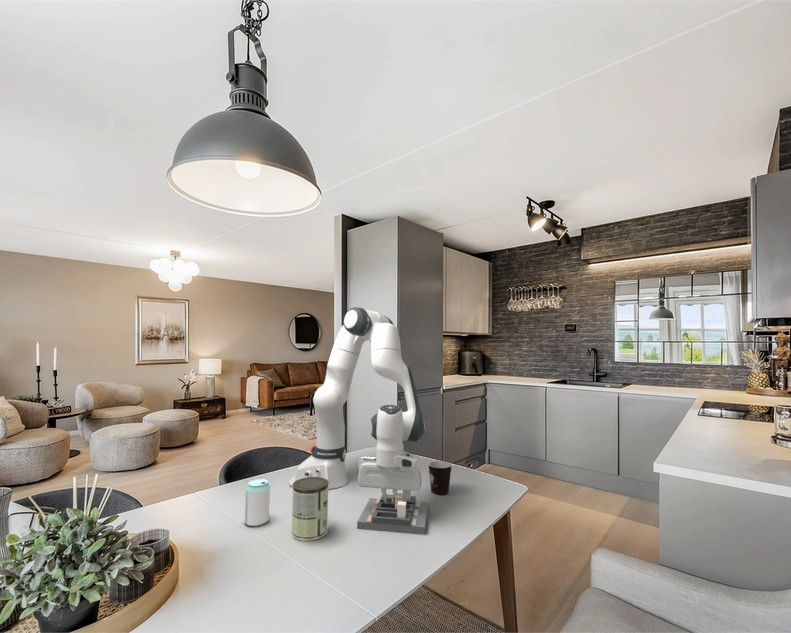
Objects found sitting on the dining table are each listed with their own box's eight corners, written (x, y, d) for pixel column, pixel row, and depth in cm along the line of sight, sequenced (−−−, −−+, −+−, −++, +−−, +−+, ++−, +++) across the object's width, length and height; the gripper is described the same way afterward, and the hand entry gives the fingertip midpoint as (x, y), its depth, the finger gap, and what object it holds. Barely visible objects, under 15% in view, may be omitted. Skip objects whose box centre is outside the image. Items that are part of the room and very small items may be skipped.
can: (262, 515, 124) (263, 476, 125) (272, 522, 119) (274, 482, 120) (240, 521, 119) (242, 481, 120) (250, 530, 114) (252, 488, 115)
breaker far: (402, 504, 128) (403, 488, 129) (403, 501, 131) (403, 485, 131) (410, 504, 128) (410, 488, 128) (410, 501, 130) (411, 486, 131)
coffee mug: (452, 496, 141) (452, 468, 142) (429, 496, 141) (429, 467, 142) (449, 484, 153) (449, 458, 153) (427, 484, 153) (427, 458, 153)
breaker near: (397, 521, 115) (397, 504, 116) (398, 518, 118) (398, 501, 118) (405, 522, 115) (405, 505, 115) (406, 518, 117) (406, 501, 118)
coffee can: (292, 525, 117) (294, 477, 118) (327, 523, 119) (328, 475, 120) (289, 542, 107) (291, 490, 108) (327, 540, 109) (328, 488, 110)
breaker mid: (394, 512, 122) (394, 495, 122) (395, 508, 125) (396, 492, 125) (402, 512, 122) (402, 496, 122) (403, 509, 124) (403, 493, 124)
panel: (357, 528, 116) (357, 516, 116) (370, 503, 134) (370, 493, 134) (424, 534, 113) (424, 521, 113) (428, 508, 131) (428, 497, 131)
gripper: (355, 458, 123) (355, 503, 122) (420, 462, 120) (420, 508, 119) (360, 453, 129) (359, 496, 128) (422, 456, 126) (421, 500, 125)
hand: (389, 502), depth 124 cm, fingers closed
